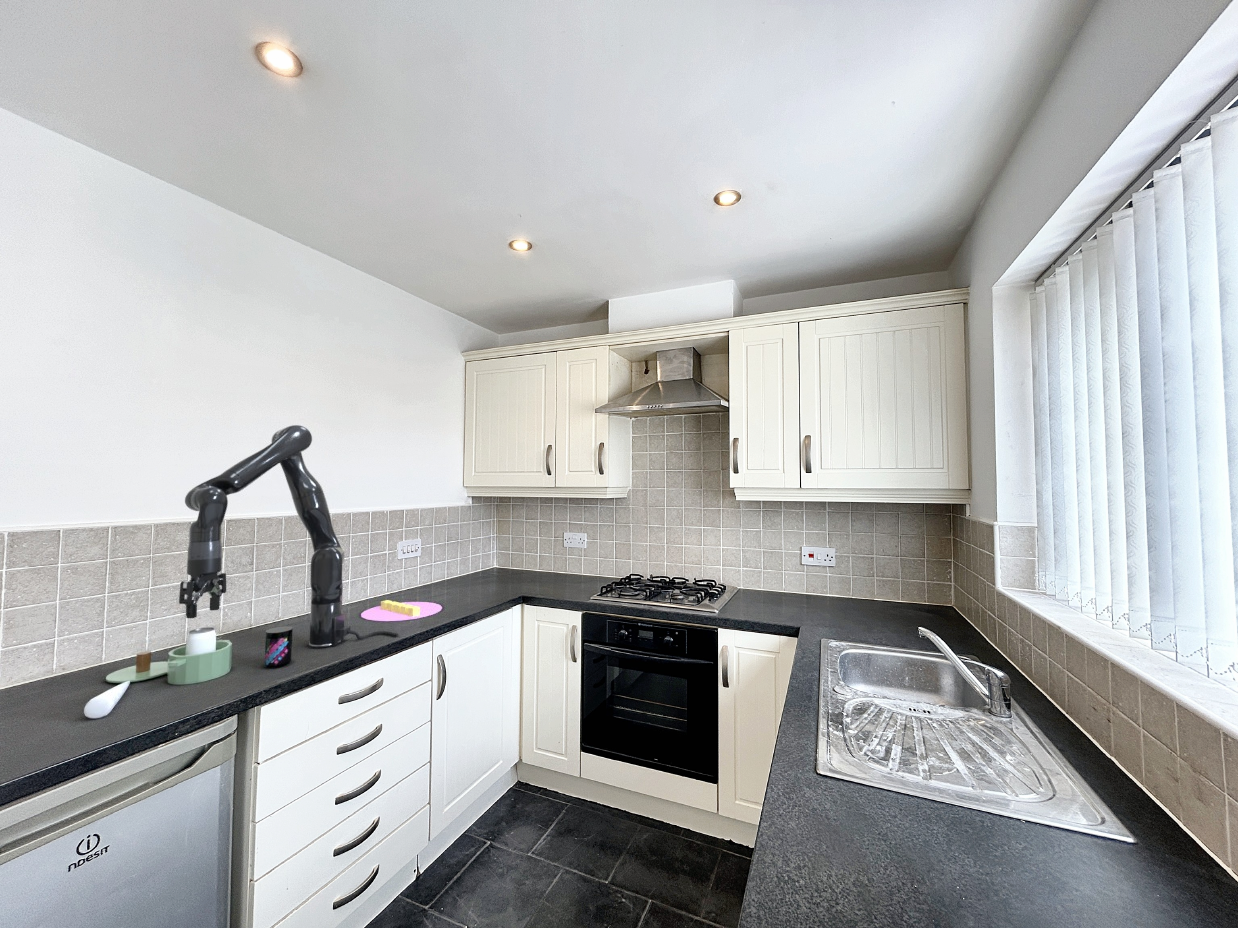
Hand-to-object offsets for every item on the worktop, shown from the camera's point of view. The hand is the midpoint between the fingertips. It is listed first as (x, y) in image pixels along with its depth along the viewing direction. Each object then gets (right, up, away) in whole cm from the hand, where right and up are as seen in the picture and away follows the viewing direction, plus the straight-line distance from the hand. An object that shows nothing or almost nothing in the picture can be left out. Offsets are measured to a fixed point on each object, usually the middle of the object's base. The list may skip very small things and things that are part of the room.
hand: (203, 613), depth 139 cm
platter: (+25, -21, +70) cm, 78 cm away
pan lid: (-17, -17, -1) cm, 23 cm away
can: (-1, -17, 0) cm, 17 cm away
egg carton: (-17, -18, +20) cm, 32 cm away
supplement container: (+16, -18, +8) cm, 25 cm away
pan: (-1, -17, -1) cm, 17 cm away
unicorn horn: (-8, -17, -18) cm, 25 cm away
